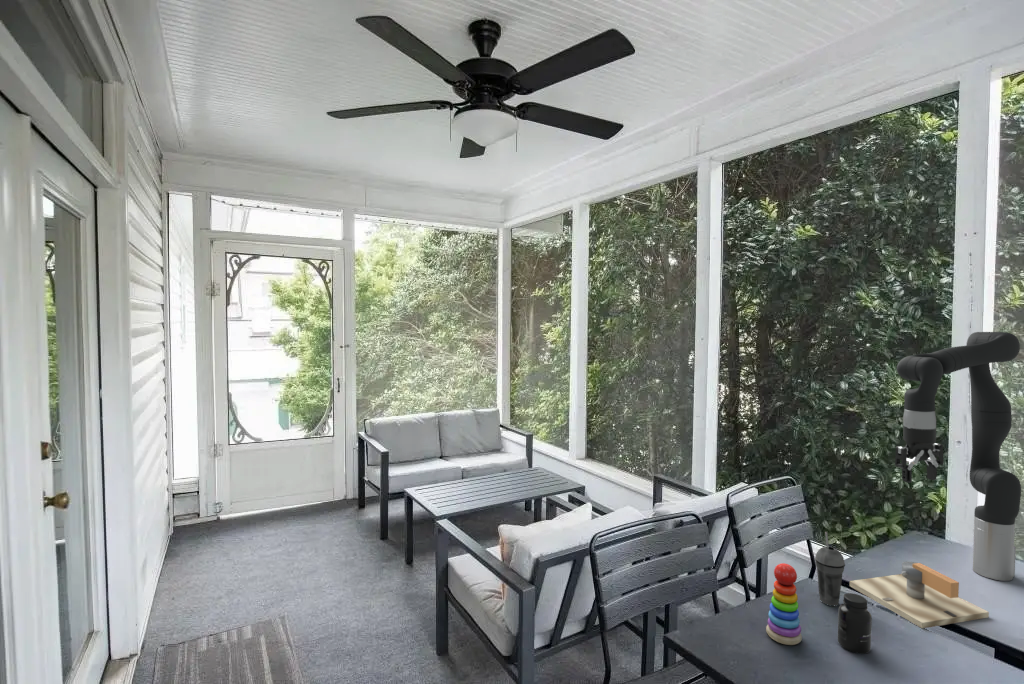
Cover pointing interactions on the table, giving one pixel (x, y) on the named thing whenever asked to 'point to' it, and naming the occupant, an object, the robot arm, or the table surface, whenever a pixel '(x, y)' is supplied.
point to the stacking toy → (784, 607)
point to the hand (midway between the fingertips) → (919, 480)
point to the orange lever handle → (930, 578)
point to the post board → (918, 601)
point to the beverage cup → (829, 573)
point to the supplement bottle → (854, 624)
